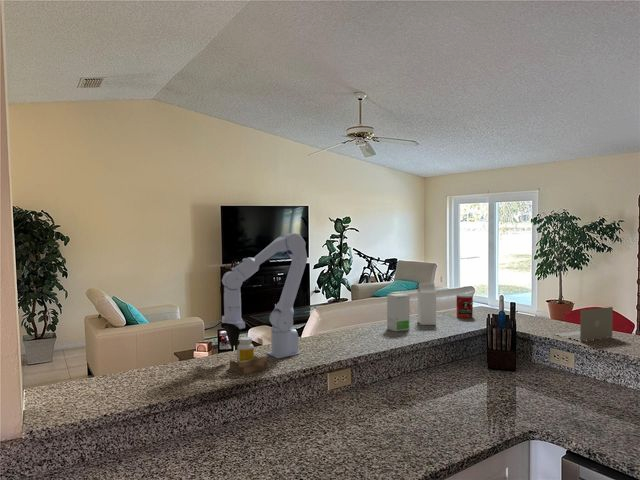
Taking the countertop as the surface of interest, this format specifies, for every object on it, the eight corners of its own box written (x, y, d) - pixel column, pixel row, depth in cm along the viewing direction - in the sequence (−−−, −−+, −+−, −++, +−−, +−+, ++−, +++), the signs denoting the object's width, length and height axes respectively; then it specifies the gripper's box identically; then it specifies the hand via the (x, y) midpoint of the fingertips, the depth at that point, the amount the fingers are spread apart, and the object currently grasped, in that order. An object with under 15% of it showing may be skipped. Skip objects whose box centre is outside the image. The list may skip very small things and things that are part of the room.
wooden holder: (255, 363, 153) (254, 351, 153) (267, 369, 147) (266, 357, 147) (229, 368, 148) (229, 356, 148) (240, 375, 141) (240, 362, 141)
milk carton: (436, 325, 207) (436, 284, 207) (420, 325, 208) (420, 284, 207) (432, 321, 215) (432, 282, 214) (417, 321, 215) (417, 282, 214)
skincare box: (395, 332, 195) (395, 296, 194) (385, 329, 201) (385, 294, 200) (410, 329, 199) (410, 294, 198) (400, 326, 205) (400, 292, 204)
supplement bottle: (234, 367, 149) (234, 338, 149) (247, 363, 153) (247, 335, 153) (243, 370, 145) (243, 340, 145) (257, 367, 149) (256, 338, 149)
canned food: (457, 318, 221) (457, 296, 221) (455, 315, 229) (455, 293, 229) (473, 318, 220) (474, 296, 220) (471, 315, 228) (471, 293, 228)
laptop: (584, 331, 195) (585, 301, 194) (612, 338, 183) (613, 306, 182) (553, 335, 188) (554, 304, 188) (580, 343, 176) (581, 310, 176)
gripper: (213, 304, 159) (214, 342, 160) (231, 311, 147) (232, 352, 148) (231, 302, 163) (232, 339, 164) (250, 308, 151) (251, 348, 152)
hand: (233, 345), depth 156 cm, fingers closed
